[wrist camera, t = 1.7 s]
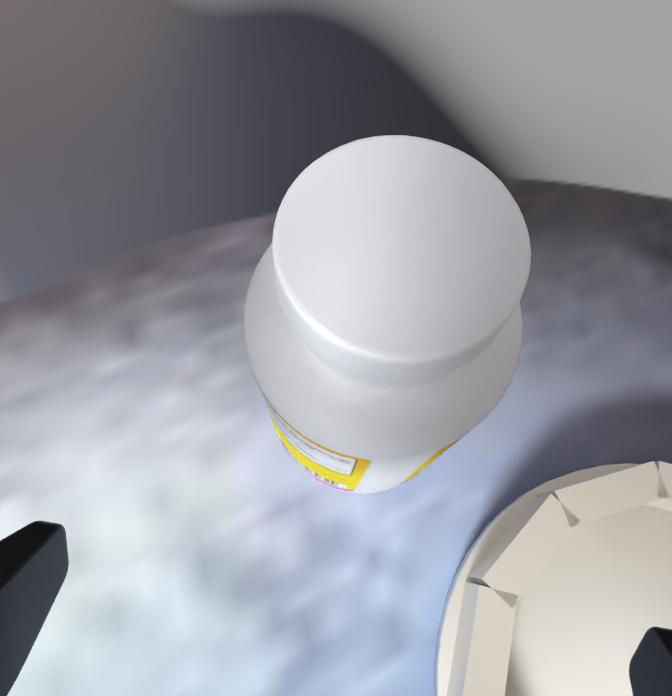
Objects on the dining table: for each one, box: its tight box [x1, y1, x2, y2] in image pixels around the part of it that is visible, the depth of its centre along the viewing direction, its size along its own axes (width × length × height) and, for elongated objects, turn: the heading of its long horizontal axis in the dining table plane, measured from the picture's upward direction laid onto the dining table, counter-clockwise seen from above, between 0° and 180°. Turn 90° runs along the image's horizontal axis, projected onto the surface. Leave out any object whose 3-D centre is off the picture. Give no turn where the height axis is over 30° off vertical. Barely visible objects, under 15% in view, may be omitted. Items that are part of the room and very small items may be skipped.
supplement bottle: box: [244, 135, 531, 493], centre depth 16 cm, size 7×7×13 cm
